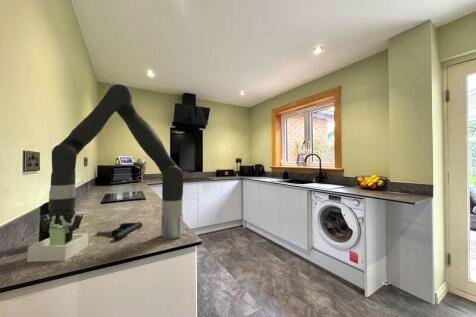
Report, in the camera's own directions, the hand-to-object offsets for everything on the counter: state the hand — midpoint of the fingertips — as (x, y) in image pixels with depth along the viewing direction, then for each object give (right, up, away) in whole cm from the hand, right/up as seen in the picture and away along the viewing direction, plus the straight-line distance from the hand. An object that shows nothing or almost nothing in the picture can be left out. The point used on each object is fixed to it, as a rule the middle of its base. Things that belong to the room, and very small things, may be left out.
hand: (60, 241), depth 73 cm
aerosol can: (-12, -4, +8) cm, 15 cm away
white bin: (0, -4, 0) cm, 4 cm away
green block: (0, -1, 0) cm, 1 cm away
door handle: (+8, -6, +22) cm, 24 cm away
